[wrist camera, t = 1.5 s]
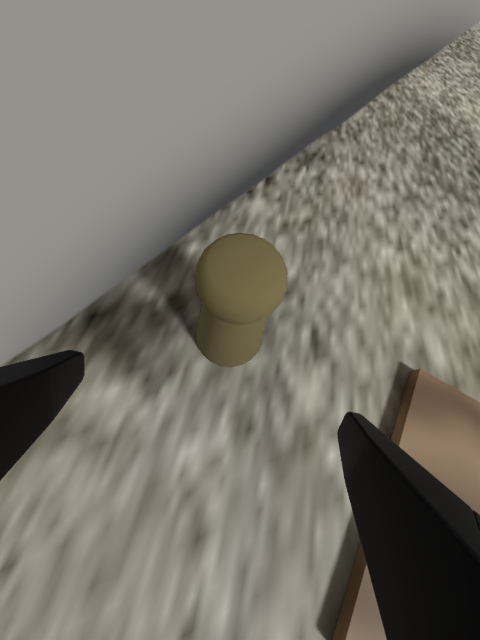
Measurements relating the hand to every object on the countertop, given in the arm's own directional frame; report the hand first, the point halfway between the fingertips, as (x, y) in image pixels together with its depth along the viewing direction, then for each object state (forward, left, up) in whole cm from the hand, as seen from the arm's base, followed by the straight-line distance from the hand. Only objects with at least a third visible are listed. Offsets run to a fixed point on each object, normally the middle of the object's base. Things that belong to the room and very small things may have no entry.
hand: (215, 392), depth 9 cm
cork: (+6, +2, -13) cm, 15 cm away
